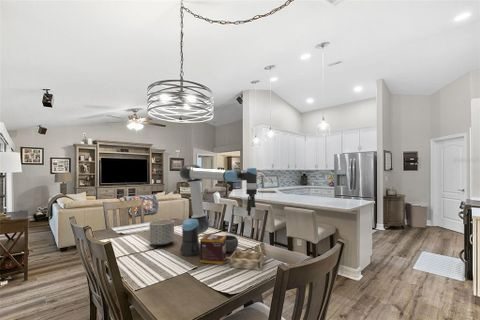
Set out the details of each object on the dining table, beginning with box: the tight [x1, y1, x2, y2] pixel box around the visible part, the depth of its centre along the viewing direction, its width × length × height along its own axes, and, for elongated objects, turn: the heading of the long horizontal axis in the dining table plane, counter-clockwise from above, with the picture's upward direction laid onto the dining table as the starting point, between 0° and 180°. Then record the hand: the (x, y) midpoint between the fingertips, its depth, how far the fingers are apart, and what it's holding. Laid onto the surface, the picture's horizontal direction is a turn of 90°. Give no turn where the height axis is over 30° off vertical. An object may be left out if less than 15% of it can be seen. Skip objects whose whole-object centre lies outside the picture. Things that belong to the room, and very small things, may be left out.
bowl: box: [224, 234, 239, 253], centre depth 182 cm, size 15×15×10 cm
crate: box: [228, 250, 265, 271], centre depth 158 cm, size 20×15×5 cm
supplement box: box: [199, 234, 227, 265], centre depth 164 cm, size 10×15×16 cm
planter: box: [148, 218, 175, 247], centre depth 198 cm, size 19×19×18 cm
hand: (251, 218), depth 177 cm, fingers open, 13 cm apart
